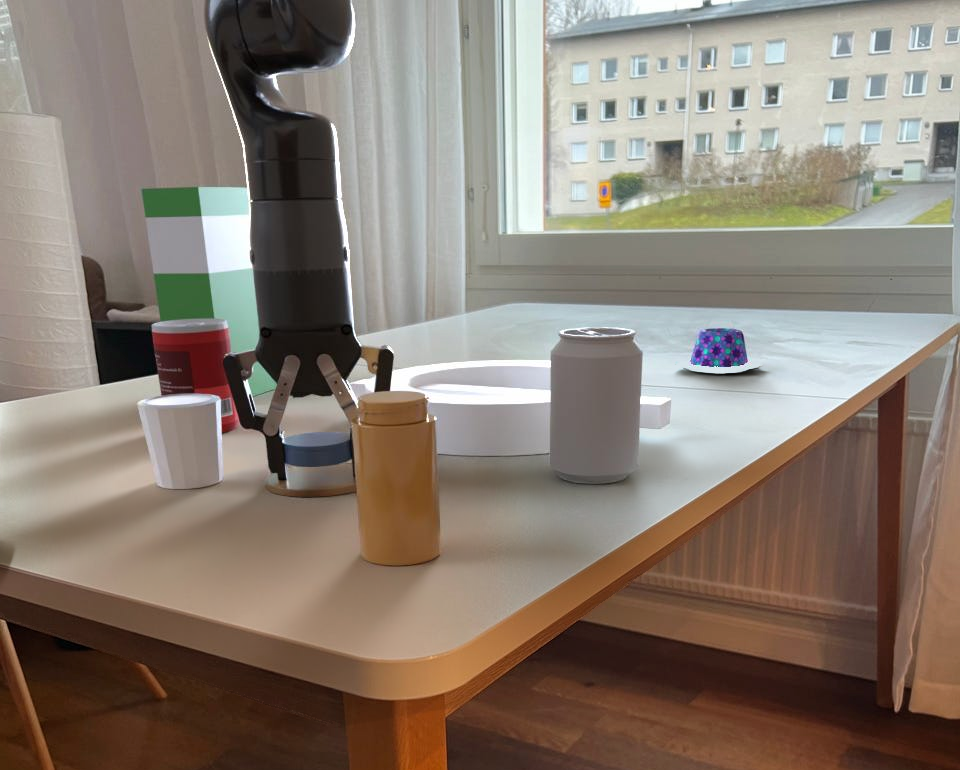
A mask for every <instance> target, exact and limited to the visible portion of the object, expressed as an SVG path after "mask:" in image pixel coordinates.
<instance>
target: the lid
mask: <svg viewBox="0 0 960 770" xmlns="http://www.w3.org/2000/svg"><path fill="white" fill-rule="evenodd" d="M283 449H284V459H285V463H287V465H288V466H292V467H298V466H299V467H322V466H331V465H337V464H345V463H348V462H349V461H352V455H351V442H350V434H347V433H343V432H334V431H315V432H305V433H299V434H293V435H290V436H288V437H284V440H283Z"/></svg>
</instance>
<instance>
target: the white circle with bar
mask: <svg viewBox="0 0 960 770" xmlns="http://www.w3.org/2000/svg"><path fill="white" fill-rule="evenodd" d="M550 369H551V360H535V359H533V360H531V359H528V360H527V359H502V360H501V359H500V360H472V361H471V360H470V361H469V360H468V361H456V362H454V361H453V362H443V363H433V364H426V365H417V366H410V367H405V368H400V369H394V370H392V378H391V387H390V391H414V392H420V393H424V394H426V395H428V397H429V402H428V414H431V415H434V416H435V417H436V433H437V455H449V456H450V455H451V456H467V457H468V456H469V457H470V456H472V457H508V456H510V457H511V456H530V455H543V454H550ZM375 379H376V375H374V376H372V377H370V378H363V379H359V380H354V381H352V382H348V383H349V385H350V387H351V389H352V391H353V393H354V395H355V398H356V400H357V402H358V397H360V396H362V395H364V394H369V393H374V388H375ZM671 409H672V398H667V397H652V396H641V404H640V427H639V429H649V430H661V429H663V428H665V426H667V425H669V424H670V423H671Z"/></svg>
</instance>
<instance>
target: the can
mask: <svg viewBox="0 0 960 770" xmlns="http://www.w3.org/2000/svg"><path fill="white" fill-rule="evenodd" d="M557 334H558V336H559V341H558V342H557V343H556V344H555V345H554V346H553V348H552V349H551V350H550V361H551V369H550V453H549V467H550V469H552V470H553V471H554V473H556V474H557V475H558V477H559V478H560V479H562V480H565V481H568V482H569V483H570V482H571V483H577V484H587V485H601V484H602V485H603V484H611V483H617V482H621V481H623V480H626V479H627V478H628V477H629V475H630V474H632V473H633V472H634V471H635V470H636V469H637V468H638V467H639V447H640V446H639V445H640V428H639V427H640V404H641V397H642V380H643V359H644V358H643V356H644V354H643V353H644V351H643V349H641V347H640V346H639V344H637V342H636V341H635V340H634V339H635V338H634V337H635V335H637V333H636V332H635V330H634V329H629V328H621V327H579V328H568V329H564V330H560V331H559V332H558V333H557ZM627 476H628V477H627ZM625 478H626V479H625Z"/></svg>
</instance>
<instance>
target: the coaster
mask: <svg viewBox="0 0 960 770" xmlns="http://www.w3.org/2000/svg"><path fill="white" fill-rule="evenodd" d="M287 470H288V476H287V480H278V476H277V473H271V474H269V475H268V476H267V477H266V478H265V485H266V489H267V490H268V491H269V492H270V493H273V494H277V495H281V496H287V497H294V498H295V497H296V498H318V497H319V498H322V497H332V496H339V495H344V494H350V493H354V492H356V480H355V476H353V468H352V464H347V463H341V464H337V465H331V466H322V467H299V466H292V467H287Z"/></svg>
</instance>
